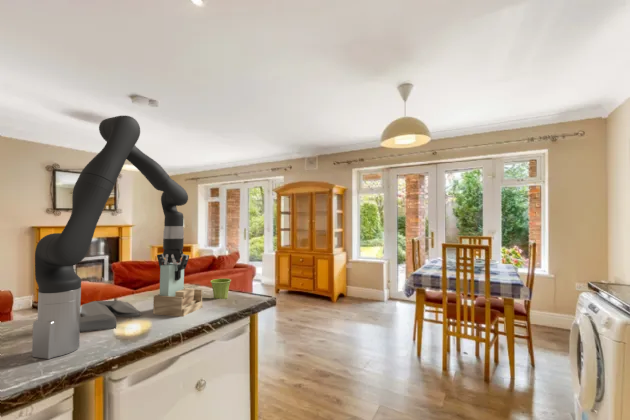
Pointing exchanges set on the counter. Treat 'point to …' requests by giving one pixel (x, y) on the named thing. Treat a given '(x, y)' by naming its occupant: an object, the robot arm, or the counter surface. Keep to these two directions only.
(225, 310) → the counter surface
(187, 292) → the offcut top
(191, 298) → the offcut middle
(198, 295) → the rack
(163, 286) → the tall board
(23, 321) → the counter surface
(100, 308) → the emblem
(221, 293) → the plant pot
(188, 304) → the offcut bottom
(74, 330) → the robot arm
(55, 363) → the counter surface
